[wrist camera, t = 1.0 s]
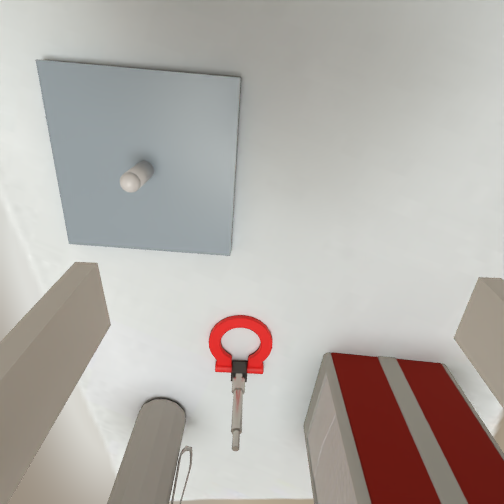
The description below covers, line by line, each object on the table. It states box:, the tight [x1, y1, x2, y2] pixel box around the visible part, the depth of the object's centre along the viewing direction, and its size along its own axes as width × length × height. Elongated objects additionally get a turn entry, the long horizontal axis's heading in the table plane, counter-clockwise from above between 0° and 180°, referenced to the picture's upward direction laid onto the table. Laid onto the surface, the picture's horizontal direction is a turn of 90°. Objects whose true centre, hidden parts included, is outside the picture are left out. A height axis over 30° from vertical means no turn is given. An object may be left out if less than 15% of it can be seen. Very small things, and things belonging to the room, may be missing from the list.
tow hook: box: [209, 315, 272, 451], centre depth 41 cm, size 8×13×9 cm
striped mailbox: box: [304, 352, 504, 504], centre depth 39 cm, size 17×18×27 cm
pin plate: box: [36, 60, 241, 256], centre depth 33 cm, size 18×18×7 cm
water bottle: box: [107, 399, 192, 504], centre depth 42 cm, size 9×8×25 cm
